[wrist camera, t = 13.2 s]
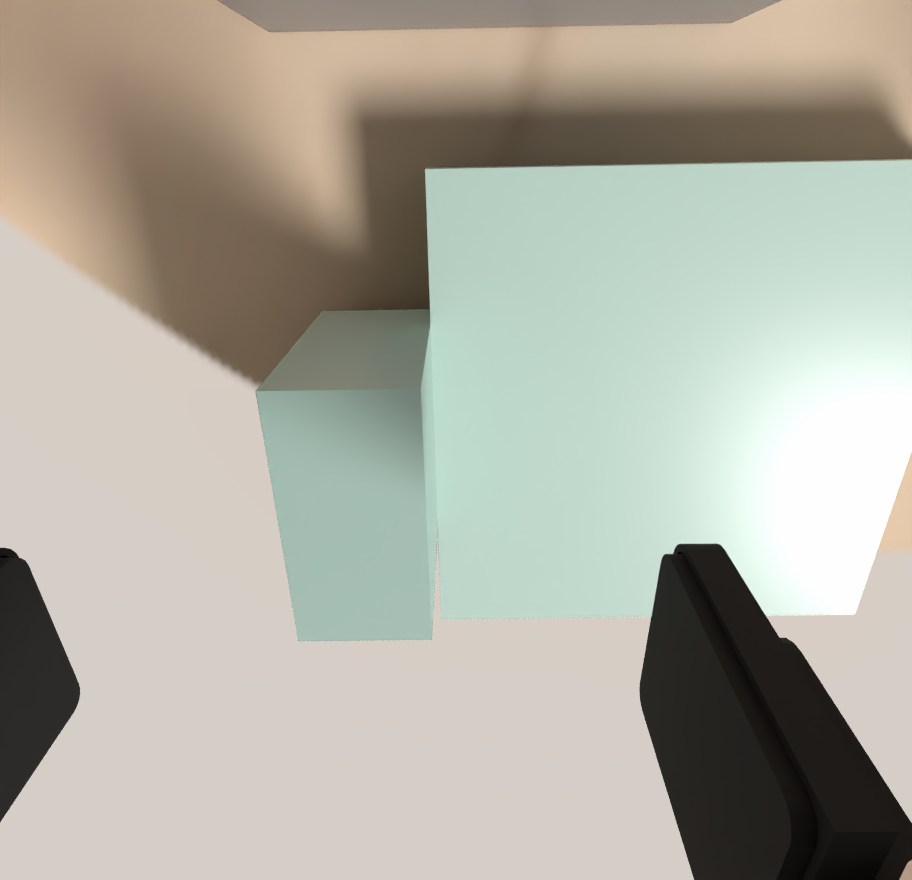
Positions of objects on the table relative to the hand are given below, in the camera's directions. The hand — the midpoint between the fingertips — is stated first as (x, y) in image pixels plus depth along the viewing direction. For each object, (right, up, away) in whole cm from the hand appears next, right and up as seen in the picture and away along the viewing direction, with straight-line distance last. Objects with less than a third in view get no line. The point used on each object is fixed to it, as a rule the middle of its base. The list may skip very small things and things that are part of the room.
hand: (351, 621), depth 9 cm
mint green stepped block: (+6, +4, +9) cm, 12 cm away
